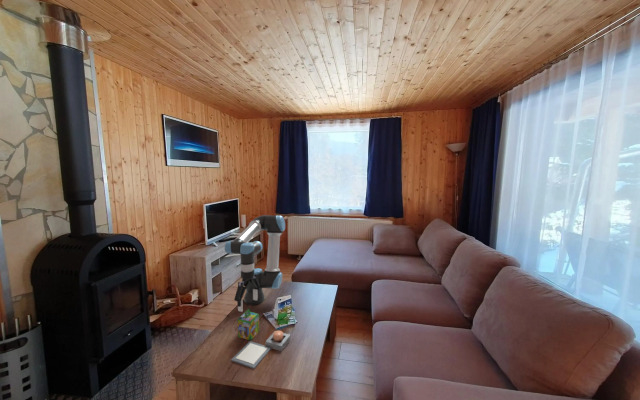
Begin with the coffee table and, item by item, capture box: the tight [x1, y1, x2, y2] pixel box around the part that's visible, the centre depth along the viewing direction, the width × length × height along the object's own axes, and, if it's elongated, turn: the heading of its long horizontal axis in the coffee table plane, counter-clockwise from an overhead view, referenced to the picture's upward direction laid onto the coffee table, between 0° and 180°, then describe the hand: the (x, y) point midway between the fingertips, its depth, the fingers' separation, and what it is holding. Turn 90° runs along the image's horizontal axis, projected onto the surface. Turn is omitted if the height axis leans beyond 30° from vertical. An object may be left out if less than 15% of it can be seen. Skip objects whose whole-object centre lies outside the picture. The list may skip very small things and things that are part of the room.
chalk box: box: [237, 308, 260, 341], centre depth 143 cm, size 9×9×15 cm
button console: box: [265, 332, 291, 352], centre depth 136 cm, size 10×10×3 cm
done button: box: [272, 330, 284, 342], centre depth 136 cm, size 6×6×2 cm
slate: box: [230, 340, 272, 370], centre depth 127 cm, size 15×14×1 cm
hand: (248, 305), depth 142 cm, fingers open, 13 cm apart
